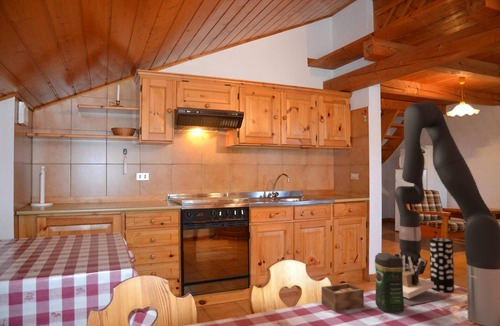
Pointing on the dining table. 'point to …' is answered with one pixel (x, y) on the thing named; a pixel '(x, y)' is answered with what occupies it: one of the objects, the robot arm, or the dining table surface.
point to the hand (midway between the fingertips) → (410, 283)
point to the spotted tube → (442, 264)
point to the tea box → (342, 297)
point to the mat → (422, 298)
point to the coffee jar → (389, 283)
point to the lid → (411, 289)
